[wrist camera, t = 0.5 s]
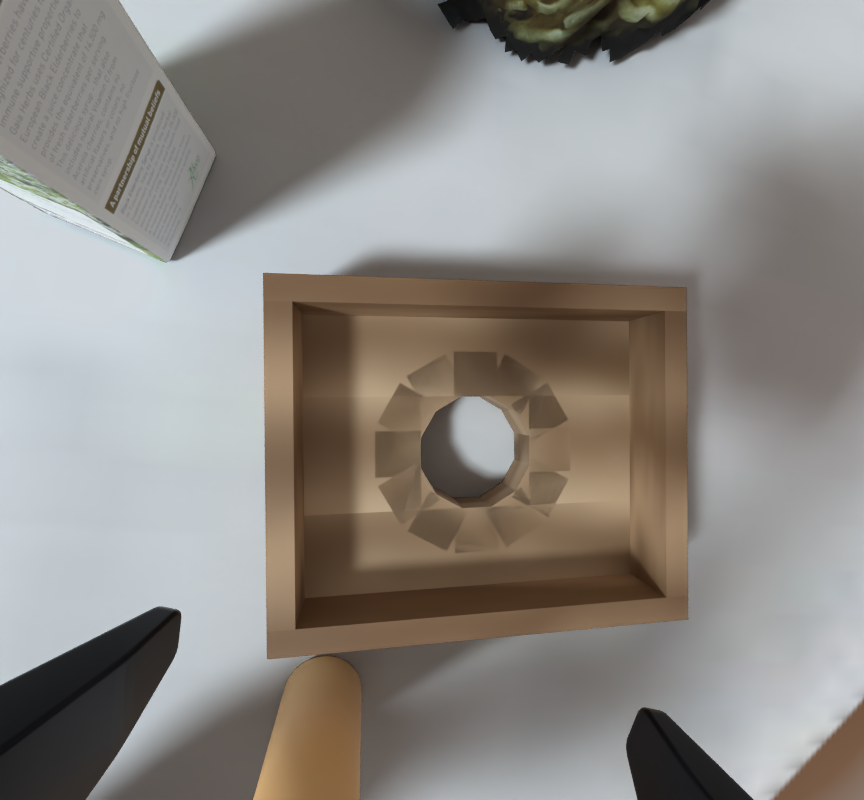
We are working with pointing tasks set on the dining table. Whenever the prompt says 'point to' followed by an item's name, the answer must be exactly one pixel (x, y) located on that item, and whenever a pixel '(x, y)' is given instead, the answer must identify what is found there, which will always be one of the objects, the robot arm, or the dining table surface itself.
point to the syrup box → (96, 124)
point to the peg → (315, 735)
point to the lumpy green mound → (572, 23)
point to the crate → (499, 507)
